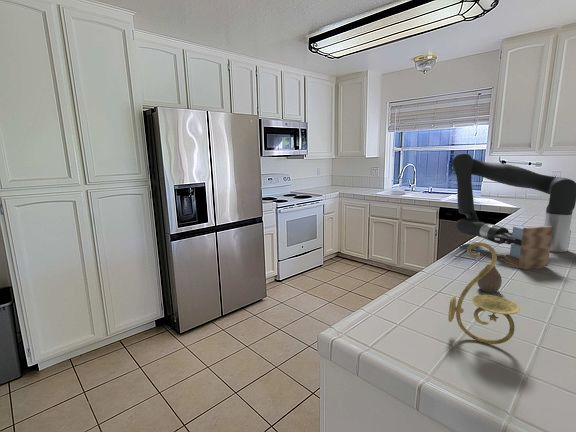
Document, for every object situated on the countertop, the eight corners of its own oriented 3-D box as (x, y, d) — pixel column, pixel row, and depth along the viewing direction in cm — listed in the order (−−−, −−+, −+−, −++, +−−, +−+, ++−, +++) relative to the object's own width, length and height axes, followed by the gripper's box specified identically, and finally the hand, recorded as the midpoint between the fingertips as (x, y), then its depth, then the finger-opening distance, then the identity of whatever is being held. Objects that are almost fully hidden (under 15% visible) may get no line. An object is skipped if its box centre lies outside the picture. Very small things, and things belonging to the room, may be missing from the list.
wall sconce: (445, 341, 79) (453, 243, 74) (451, 325, 86) (459, 235, 82) (514, 361, 71) (528, 253, 66) (514, 341, 78) (527, 242, 74)
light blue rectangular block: (515, 255, 136) (519, 226, 133) (530, 261, 129) (535, 229, 126) (509, 256, 135) (513, 226, 133) (524, 261, 128) (528, 230, 126)
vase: (497, 287, 109) (499, 263, 108) (503, 296, 103) (506, 270, 101) (474, 285, 112) (476, 261, 110) (478, 293, 105) (481, 268, 103)
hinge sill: (520, 258, 138) (525, 220, 135) (547, 267, 127) (553, 226, 124) (496, 260, 136) (500, 222, 133) (521, 270, 125) (526, 228, 122)
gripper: (481, 226, 142) (514, 235, 126) (508, 224, 145) (544, 233, 128) (479, 242, 144) (512, 254, 127) (506, 240, 146) (542, 251, 130)
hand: (528, 243), depth 128 cm, fingers closed on light blue rectangular block, 3 cm apart
